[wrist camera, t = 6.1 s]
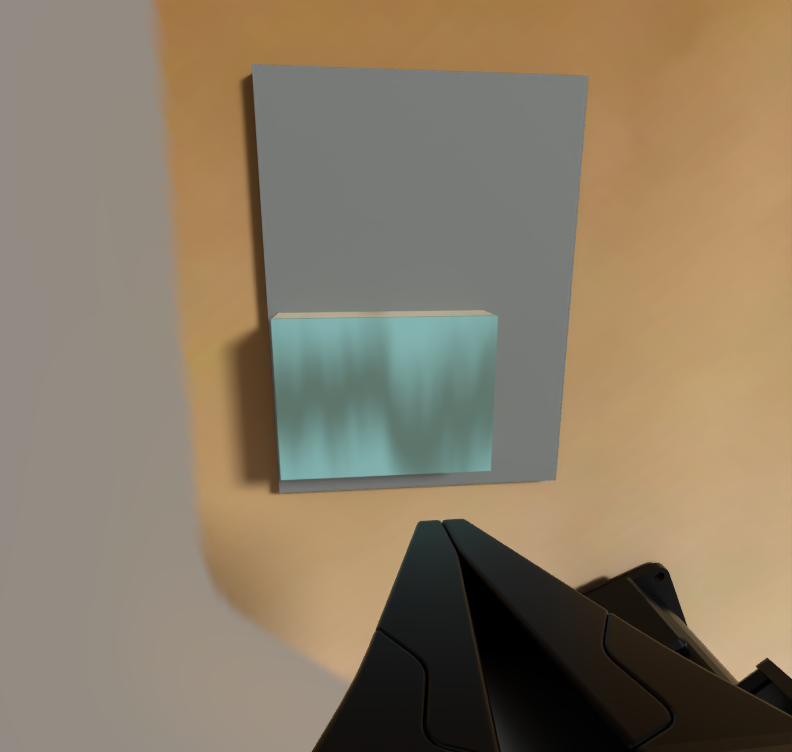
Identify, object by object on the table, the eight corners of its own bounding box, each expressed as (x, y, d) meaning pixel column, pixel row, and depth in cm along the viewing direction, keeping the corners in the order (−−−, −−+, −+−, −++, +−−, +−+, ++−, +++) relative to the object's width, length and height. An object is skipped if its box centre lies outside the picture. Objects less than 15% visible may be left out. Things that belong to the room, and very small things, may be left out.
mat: (550, 474, 22) (555, 480, 21) (281, 486, 21) (279, 493, 20) (580, 81, 18) (588, 75, 18) (255, 70, 17) (251, 64, 17)
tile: (490, 470, 19) (280, 480, 18) (477, 451, 21) (287, 458, 20) (498, 316, 17) (270, 319, 17) (483, 310, 19) (278, 313, 19)
